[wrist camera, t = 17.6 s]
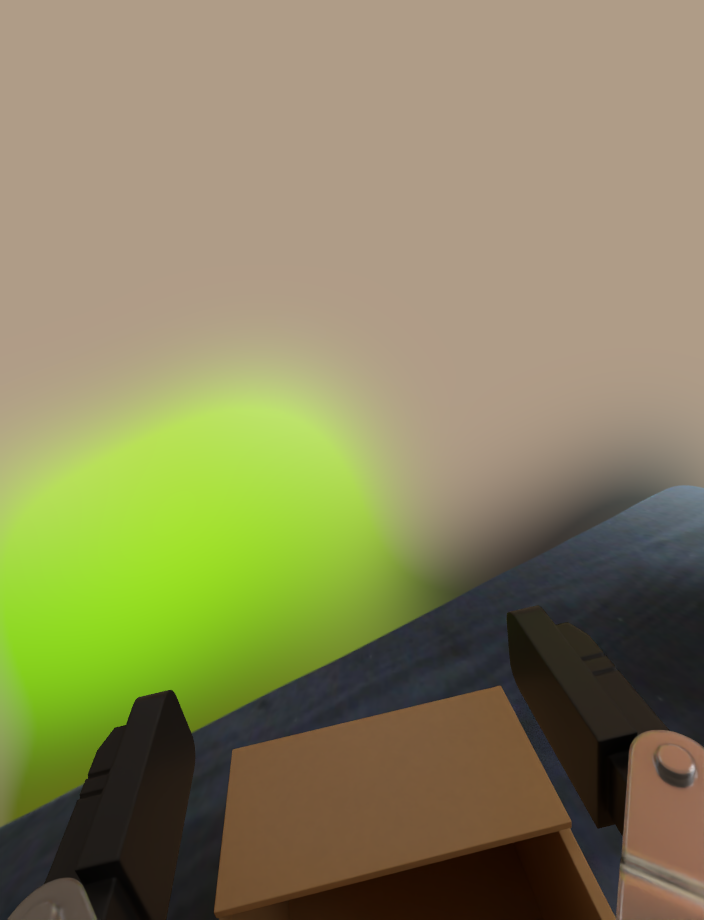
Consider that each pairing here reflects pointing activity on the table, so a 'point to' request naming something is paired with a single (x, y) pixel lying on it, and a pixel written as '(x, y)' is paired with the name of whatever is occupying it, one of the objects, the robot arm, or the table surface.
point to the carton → (402, 823)
